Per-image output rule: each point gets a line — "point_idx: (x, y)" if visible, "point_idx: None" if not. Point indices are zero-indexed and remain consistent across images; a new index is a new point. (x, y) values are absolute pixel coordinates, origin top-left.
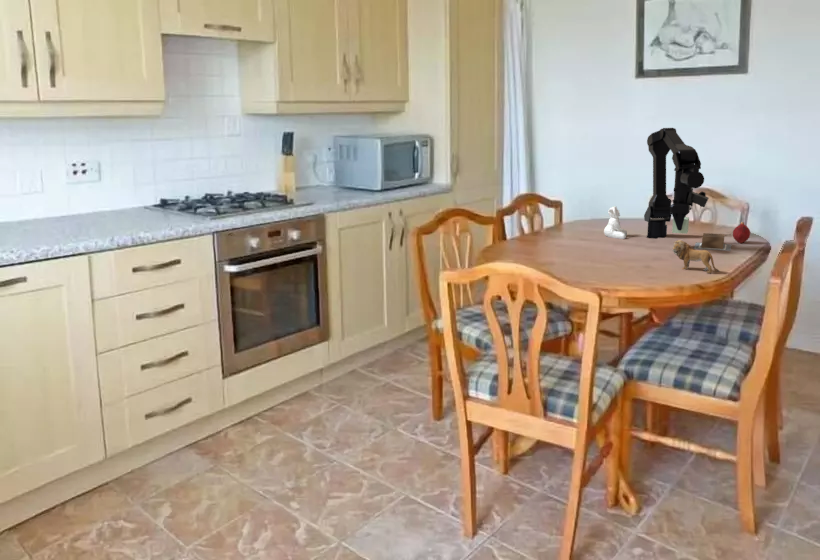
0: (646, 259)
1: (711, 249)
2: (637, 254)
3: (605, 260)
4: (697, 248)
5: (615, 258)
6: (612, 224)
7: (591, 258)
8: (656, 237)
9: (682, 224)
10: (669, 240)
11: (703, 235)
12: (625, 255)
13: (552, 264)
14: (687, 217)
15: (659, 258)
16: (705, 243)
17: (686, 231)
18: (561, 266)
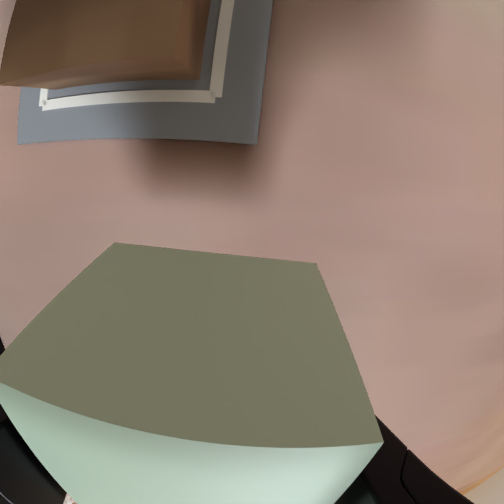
0: (495, 376)
1: (267, 10)
2: (411, 420)
3: (468, 449)
4: (243, 112)
5: (454, 444)
6: (72, 501)
7: (437, 475)
8: (1, 350)
9: (376, 416)
10: (7, 297)
11: (100, 55)
12: (420, 441)
13: (465, 486)
14: (21, 411)
15: (495, 340)
16: (194, 42)
17: (322, 286)
18: (485, 472)
